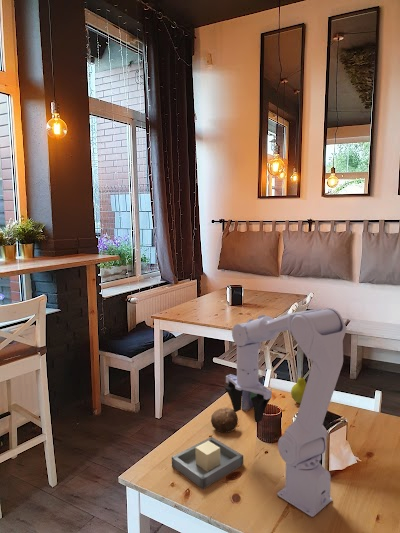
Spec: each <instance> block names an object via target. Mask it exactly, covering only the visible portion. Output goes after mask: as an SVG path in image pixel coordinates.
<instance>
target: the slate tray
mask: <svg viewBox="0 0 400 533" xmlns="http://www.w3.org/2000/svg"><path fill="white" fill-rule="evenodd" d="M207 441H210V442H211V443H213V444H215V445H216V446H218V447H220V465H218V466H217V467H215V468H213V469H211V470H210V471H208V472H207V471H206V470H204V469H203V468H201V467H200V466H198V465H197V464H196V453H195V447H197V446H199V445H201V444H203V443H205V442H207ZM243 465H244V455H243V454H241V453H239V452H238V451H236V450H235V449H234V448H231V447H230V446H228V445H226V444H224V443H223V442H221V441H219V440H218V439H216V438H214V437H213V436H211V437H208V438H206V439H204V440H202V441H200V442H199V443H197V444H195V445H193V446H190V447H188V448H187V449H184V450H183V451H181V452H179V453H177V454H174V455H173V456H171V467H173V469H175V470H176V471H178V472H179V473H180V474H182V475H183V476H184V477H186V478H187V479H189V480H190V481H191V482H192V483H193V484H195V485H197V486H198V487H199V488H200V489H202V490H204V489H206V488H207V487H209V486H211V485H212V484H214V483H215V482H218V481H219V480H221V479H222V478H224V477H225V476H227V475H228V474H230V473H232V472H233V471H235V470H237V469H238V468H240V467H242V466H243Z"/></svg>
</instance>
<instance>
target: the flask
mask: <svg viewBox="0 0 400 533" xmlns="http://www.w3.org/2000/svg"><path fill="white" fill-rule="evenodd" d="M263 378H264V376H263V374H259V380H258V382H259V383H261V384H262V385H263V386H264V379H263ZM255 396H257V394H255V393H253V392H250V391H246V390H243V392H242V402H241V410H242V411H244V412H247V411H248V412H249V411H251V410H252V409H254V407H253V403H252V400H251V398H253V397H255Z"/></svg>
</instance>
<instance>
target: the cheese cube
mask: <svg viewBox="0 0 400 533" xmlns="http://www.w3.org/2000/svg"><path fill="white" fill-rule="evenodd" d="M195 453H196V464H197V465H198V466H200V467H201V468H203V469H204V470H206V471H207V472H208V471H210V470H211V469H213V468H215V467H217V466H218V465H220V447H218V446H216V445H215V444H213V443H211V442H210V441H207V442H205V443H203V444H201V445H199V446H197V447H195Z"/></svg>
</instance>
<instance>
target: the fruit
mask: <svg viewBox="0 0 400 533" xmlns="http://www.w3.org/2000/svg"><path fill="white" fill-rule="evenodd" d="M300 372H301V376H300V377H298V379H297V382H296V383H295V384H294V385H293V386H292V388H291V390H290V391H291V392H290V394H291V398H292V399H293V401H294V402H295V403H298V404H301V401H302V397H303V394H304V391H305V387H306V384H307V382H306V379H305V378H304V377H303V370H300Z"/></svg>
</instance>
